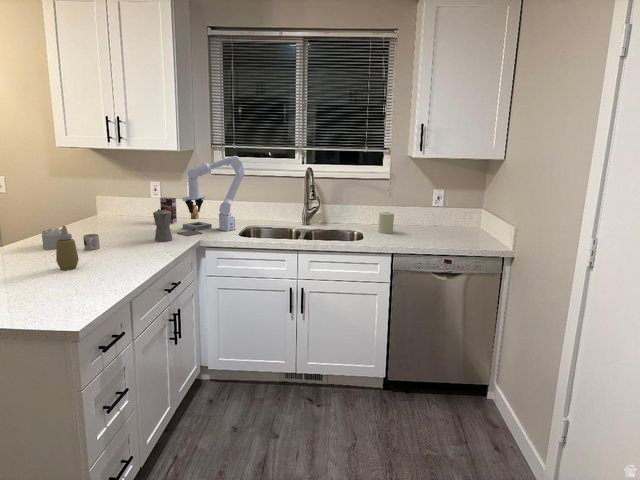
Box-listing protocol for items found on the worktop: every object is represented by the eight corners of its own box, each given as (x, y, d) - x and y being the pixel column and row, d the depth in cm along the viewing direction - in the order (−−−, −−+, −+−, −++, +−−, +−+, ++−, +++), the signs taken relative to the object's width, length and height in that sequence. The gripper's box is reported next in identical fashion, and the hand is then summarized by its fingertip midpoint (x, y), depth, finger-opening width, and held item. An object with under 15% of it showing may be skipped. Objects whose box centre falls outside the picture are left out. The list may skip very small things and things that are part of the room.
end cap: (200, 218, 266) (199, 205, 264) (193, 219, 262) (193, 206, 261) (195, 217, 268) (195, 204, 267) (189, 218, 265) (188, 205, 263)
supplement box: (161, 222, 284) (159, 198, 280) (165, 221, 288) (164, 197, 285) (172, 224, 281) (171, 198, 278) (177, 222, 286) (176, 197, 282)
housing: (211, 228, 272) (211, 224, 271) (195, 231, 263) (195, 226, 262) (199, 225, 279) (199, 221, 278) (182, 228, 270) (182, 224, 269)
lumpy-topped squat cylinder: (43, 250, 212) (41, 232, 210) (42, 244, 223) (40, 227, 221) (68, 248, 218) (66, 230, 216) (66, 242, 228) (64, 226, 226)
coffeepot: (176, 241, 236) (174, 207, 232) (157, 243, 231) (155, 209, 227) (168, 236, 249) (166, 203, 244) (150, 237, 243) (148, 204, 239)
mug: (85, 247, 220) (84, 234, 218) (100, 246, 222) (99, 233, 221) (82, 252, 211) (81, 238, 209) (98, 251, 213) (97, 238, 211)
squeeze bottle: (74, 264, 191) (70, 223, 187) (82, 268, 186) (78, 226, 182) (53, 268, 185) (49, 225, 181) (62, 272, 180) (57, 228, 176)
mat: (202, 233, 257) (202, 232, 257) (187, 236, 249) (187, 235, 249) (191, 230, 263) (191, 230, 263) (176, 233, 255) (176, 232, 255)
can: (392, 230, 278) (393, 211, 276) (393, 233, 269) (394, 214, 267) (377, 230, 279) (378, 211, 276) (378, 233, 270) (379, 213, 268)
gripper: (199, 187, 269) (200, 210, 272) (178, 189, 258) (179, 212, 261) (207, 188, 265) (207, 211, 268) (186, 190, 254) (187, 214, 257)
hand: (194, 212), depth 264 cm, fingers closed on end cap, 4 cm apart
